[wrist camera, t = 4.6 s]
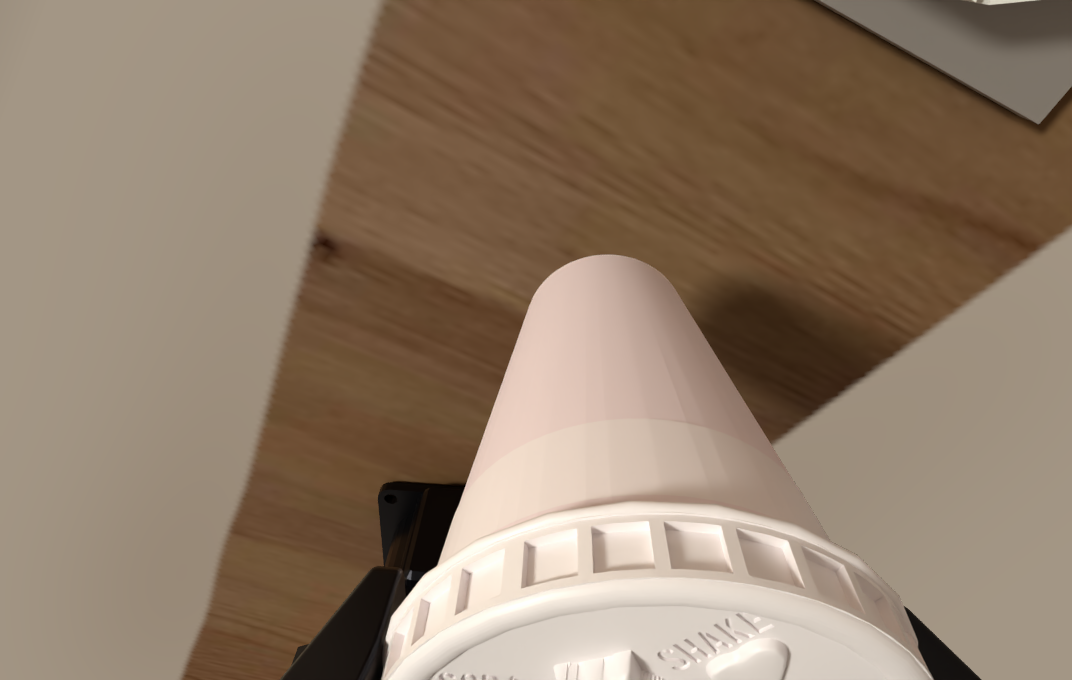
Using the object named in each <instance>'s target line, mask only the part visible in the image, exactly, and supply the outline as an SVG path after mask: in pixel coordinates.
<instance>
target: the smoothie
mask: <svg viewBox="0 0 1072 680" xmlns="http://www.w3.org/2000/svg"><path fill="white" fill-rule="evenodd" d="M382 662H383V673H382V677H381V680H934V679H933V677H932V675H931V673H930V672H929V670H928V668H927V666H926V664H925V662H924V660H923V657H922V655H921V653H920V651H919V649H918V640H917V637H916V635H915V632H914V630H913V628H912V625H911V623H910V620H909V618H908V616H907V613H906V611H905V608H904V606H903V604H902V601H901V599H900V596H899V595H898V594H897V593H896V592H895V591H894V590H893V589H892V588H891V587H890V586H889V585H888V584H887V583H886V582H885V581H884V580H882V578H880V577H879V576H878V575H877V574H876V573H875V572H874V571H873V570H872V569H871V568H870V567H869V566H868V565H867V564H866V563H865V562H864V561H863V560H862V559H861V558H860V557H859V556H858V555H857V554H855V553H853V552H851V551H849V550H847V549H845V548H843V547H841V546H839V545H837V544H835V543H833V542H831V541H830V540H829V538H828V536H827V534H826V533H825V531H824V529H823V528H822V526H821V524H820V522H819V521H818V519H817V517H816V516H815V514H814V512H813V511H812V509H811V507H810V506H809V504H808V502H807V501H806V499H805V497H804V496H803V494H802V492H801V491H800V489H799V488H798V486H797V485H796V483H795V482H794V481H793V479H792V478H791V476H790V475H789V473H788V471H787V470H786V468H785V467H784V465H783V463H782V462H781V460H780V458H779V457H778V455H777V454H776V452H775V450H774V449H773V447H772V445H771V444H770V442H769V441H768V439H767V437H766V436H765V434H764V432H763V431H762V429H761V428H760V426H759V424H758V423H757V421H756V420H755V418H754V416H753V415H752V413H751V411H750V410H749V408H748V407H747V405H746V403H745V402H744V400H743V398H742V397H741V395H740V394H739V392H738V390H737V389H736V387H735V386H734V384H733V382H732V381H731V379H730V377H729V376H728V374H727V373H726V371H725V369H724V368H723V366H722V364H721V363H720V361H719V360H718V358H717V356H716V355H715V353H714V352H713V350H712V348H711V347H710V345H709V343H708V342H707V340H706V339H705V337H704V335H703V334H702V332H701V330H700V329H699V327H698V326H697V324H696V322H695V321H694V319H693V318H692V316H691V314H690V313H689V311H688V309H687V308H686V306H685V305H684V303H683V301H682V300H681V298H680V296H679V295H678V293H677V292H676V290H675V288H674V287H673V286H672V284H671V283H670V282H669V281H668V279H667V278H666V277H665V276H664V275H663V274H662V273H660V272H659V271H658V270H656V269H655V268H653V267H652V266H650V265H648V264H646V263H644V262H642V261H639V260H637V259H634V258H630V257H626V256H620V255H595V256H590V257H585V258H582V259H578V260H576V261H573V262H571V263H569V264H567V265H565V266H563V267H561V268H560V269H558V270H557V271H555V272H554V273H553V274H551V275H550V276H549V277H548V278H547V279H546V280H545V281H544V282H543V283H542V284H541V286H540V287H539V288H538V290H537V291H536V293H535V295H534V296H533V298H532V301H531V303H530V306H529V308H528V311H527V314H526V317H525V320H524V323H523V325H522V328H521V331H520V334H519V337H518V339H517V342H516V345H515V348H514V351H513V354H512V356H511V359H510V362H509V365H508V368H507V370H506V373H505V376H504V379H503V382H502V385H501V387H500V390H499V393H498V396H497V399H496V401H495V404H494V407H493V410H492V413H491V416H490V418H489V421H488V424H487V427H486V430H485V432H484V435H483V438H482V441H481V444H480V447H479V449H478V452H477V455H476V458H475V461H474V463H473V466H472V469H471V472H470V475H469V478H468V480H467V483H466V486H465V489H464V492H463V494H462V497H461V500H460V503H459V506H458V508H457V510H456V512H455V515H454V517H453V520H452V523H451V526H450V529H449V532H448V535H447V538H446V541H445V544H444V547H443V550H442V553H441V556H440V559H439V562H438V565H437V566H436V567H435V568H433V569H432V570H430V571H429V572H427V573H426V574H424V576H423V577H422V578H421V579H420V581H419V582H418V583H417V584H416V586H415V587H414V588H413V590H412V591H411V592H410V593H409V595H408V596H407V597H406V598H405V600H404V601H403V602H402V604H401V605H400V606H399V607H398V609H397V610H396V611H395V612H394V614H393V615H392V617H391V620H390V624H389V627H388V631H387V635H386V638H385V642H384V646H383V651H382Z"/></svg>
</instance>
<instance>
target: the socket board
mask: <svg viewBox="0 0 1072 680" xmlns="http://www.w3.org/2000/svg"><path fill="white" fill-rule="evenodd" d="M814 1H816V2H818V3H820V4H821V5H823V6H825V7H827V8H829V9H830V10H832V11H834V12H836V13H837V14H839V15H841V16H843V17H845V18H846V19H848V20H850V21H852V22H853V23H855V24H857V25H859V26H860V27H862V28H864V29H866V30H868V31H869V32H871V33H873V34H875V35H876V36H878V37H880V38H882V39H884V40H885V41H887V42H889V43H891V44H892V45H894V46H896V47H898V48H899V49H901V50H903V51H905V52H907V53H908V54H910V55H912V56H914V57H915V58H917V59H919V60H921V61H923V62H924V63H926V64H928V65H930V66H931V67H933V68H935V69H937V70H938V71H940V72H942V73H944V74H946V75H947V76H949V77H951V78H953V79H954V80H956V81H958V82H960V83H962V84H963V85H965V86H967V87H969V88H970V89H972V90H974V91H976V92H977V93H979V94H981V95H983V96H985V97H986V98H988V99H990V100H992V101H993V102H995V103H997V104H999V105H1001V106H1002V107H1004V108H1006V109H1008V110H1009V111H1011V112H1013V113H1015V114H1017V115H1018V116H1020V117H1022V118H1025V119H1027V120H1029V121H1032V122H1034V123H1037V124H1040V123H1041V122H1042V120H1043V119H1044V118H1045V117H1046V116H1047V114H1048V113H1049V112H1050V111H1051V110H1052V109H1053V107H1054V106H1055V105H1056V104H1057V103H1058V102H1059V100H1060V99H1061V98H1062V97H1063V96H1064V95H1065V93H1066V92H1067V91H1068V90H1069V89H1070V88H1071V86H1072V0H814Z"/></svg>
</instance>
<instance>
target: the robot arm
mask: <svg viewBox="0 0 1072 680" xmlns="http://www.w3.org/2000/svg"><path fill="white" fill-rule="evenodd" d="M464 489H465V487H451V486H437V485H423V484H409V483H395V482H390V483H386V484H383V486H382V487H381V489H380V492H379V495H378V504H379V515H380V526H381V537H382V548H383V559H384V567H383V566H377V567H374V568H372V569H371V570H370V571H369V572H368V573H367V575H366V576H365V577H364V578H363V579H362V581H361V582H360V583H359V584H358V585H357V587H356V588H355V589H354V590H353V592H352V593H351V594H350V595H349V596H348V598H347V599H346V600H345V601H344V602H343V604H342V605H341V606H340V607H339V609H338V610H337V611H336V612H335V613H334V615H333V616H332V617H331V618H330V619H329V621H328V622H327V623H326V624H325V626H324V627H323V628H322V629H321V630H320V632H319V633H318V634H317V635H316V636H315V638H314V639H313V640H312V641H311V643H310V644H307V645H304V646H300V647H298V649H297V652H296V654H295V657H294V660H293V663H292V665H291V667H290V668H289V669H288V670H287V672H286V673H285V674H284V675H283V677H282V678H281V679H280V680H381V677H382V673H383V662H382V651H383V646H384V642H385V638H386V635H387V631H388V627H389V624H390V620H391V617H392V615H393V614H394V612H395V611H396V610H397V609H398V607H399V606H400V605H401V604H402V602H403V601H404V600H405V598H406V597H407V596H408V595H409V593H410V592H411V591H412V590H413V588H414V587H415V586H416V584H417V583H418V582H419V581H420V579H421V578H422V577H423V576H424V574H426V573H427V572H429V571H430V570H432V569H433V568H435V567H436V566H437V565H438V562H439V559H440V556H441V553H442V550H443V547H444V544H445V541H446V538H447V535H448V532H449V529H450V526H451V523H452V520H453V517H454V515H455V512H456V510H457V508H458V506H459V503H460V500H461V497H462V494H463V492H464ZM389 494H391V495H394V496H390V495H389ZM904 608H905V611H906V613H907V616H908V618H909V620H910V623H911V625H912V628H913V630H914V632H915V635H916V637H917V640H918V649H919V651H920V653H921V655H922V657H923V660H924V662H925V664H926V666H927V668H928V670H929V672H930V673H931V675H932V677H933V679H934V680H981V679H980V678H979V677H978V676H977V675H976V674H975V673H974V672H973V671H972V670H971V669H970V668H969V667H968V666H967V665H966V664H965V663H964V662H962V660H961V659H959V658H958V657H957V656H956V655H955V654H954V653H953V652H952V651H951V650H950V649H949V648H948V647H947V646H946V645H945V644H944V643H943V642H942V641H941V640H940V639H939V638H938V637H937V636H936V635H935V634H934V633H933V632H932V631H930V630H929V629H928V628H927V627H926V626H925V625H924V624H923V623H922V622H921V621H920V620H919V619H918V618H917V617H916V616H915V615H914V614H913V613H912V612H911V611H910V610H909V609H908V608H906V607H905V606H904Z"/></svg>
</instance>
